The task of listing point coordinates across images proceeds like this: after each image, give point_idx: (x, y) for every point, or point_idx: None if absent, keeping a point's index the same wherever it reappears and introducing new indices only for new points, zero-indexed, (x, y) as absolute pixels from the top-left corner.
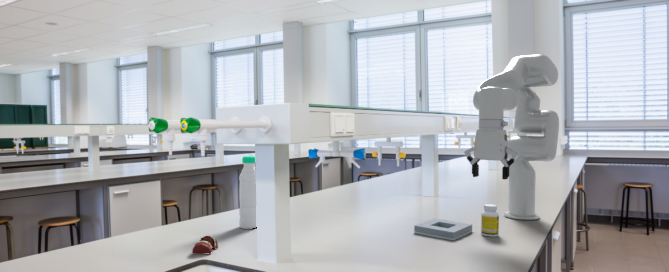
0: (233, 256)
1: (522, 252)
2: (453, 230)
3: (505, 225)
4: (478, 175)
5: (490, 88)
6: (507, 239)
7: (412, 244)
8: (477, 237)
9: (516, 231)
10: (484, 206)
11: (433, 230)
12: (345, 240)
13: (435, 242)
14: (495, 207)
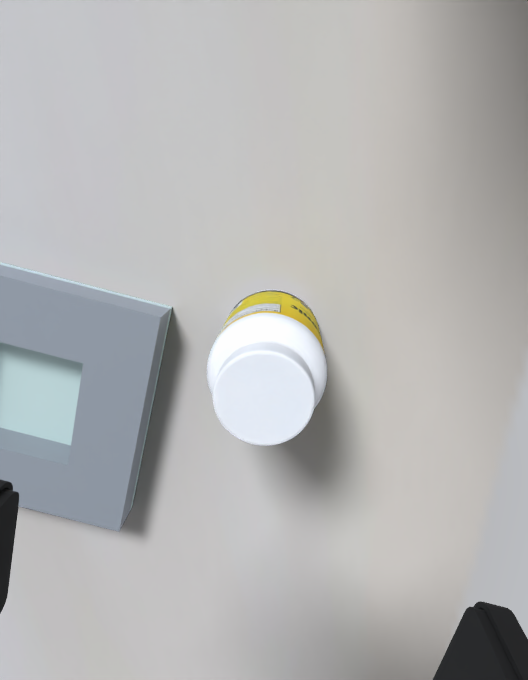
0: None
1: (432, 566)
2: (106, 495)
3: (344, 4)
4: (14, 497)
5: None
6: (367, 386)
7: (6, 617)
8: None
9: (417, 169)
10: (222, 421)
11: None
12: None
13: (73, 561)
14: (307, 420)
